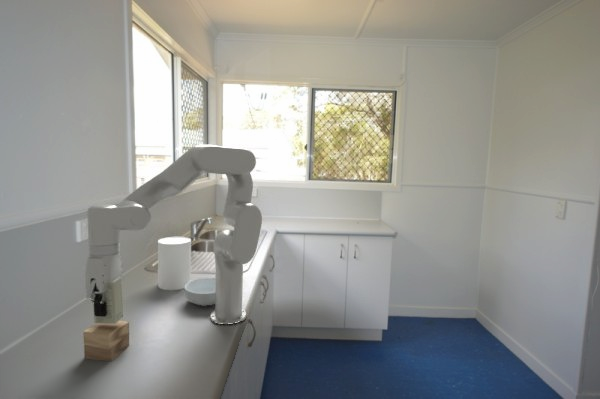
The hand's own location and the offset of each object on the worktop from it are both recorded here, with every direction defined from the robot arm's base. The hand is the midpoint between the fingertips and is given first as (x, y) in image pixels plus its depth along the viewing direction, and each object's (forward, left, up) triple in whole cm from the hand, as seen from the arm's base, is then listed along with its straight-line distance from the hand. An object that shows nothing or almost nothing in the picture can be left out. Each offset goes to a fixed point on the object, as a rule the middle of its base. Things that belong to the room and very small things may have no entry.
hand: (106, 310), depth 95 cm
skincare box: (0, 0, -3) cm, 3 cm away
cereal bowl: (-37, +16, -12) cm, 42 cm away
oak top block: (0, 0, -9) cm, 9 cm away
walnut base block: (0, 0, -13) cm, 13 cm away
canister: (-52, -4, -12) cm, 53 cm away
